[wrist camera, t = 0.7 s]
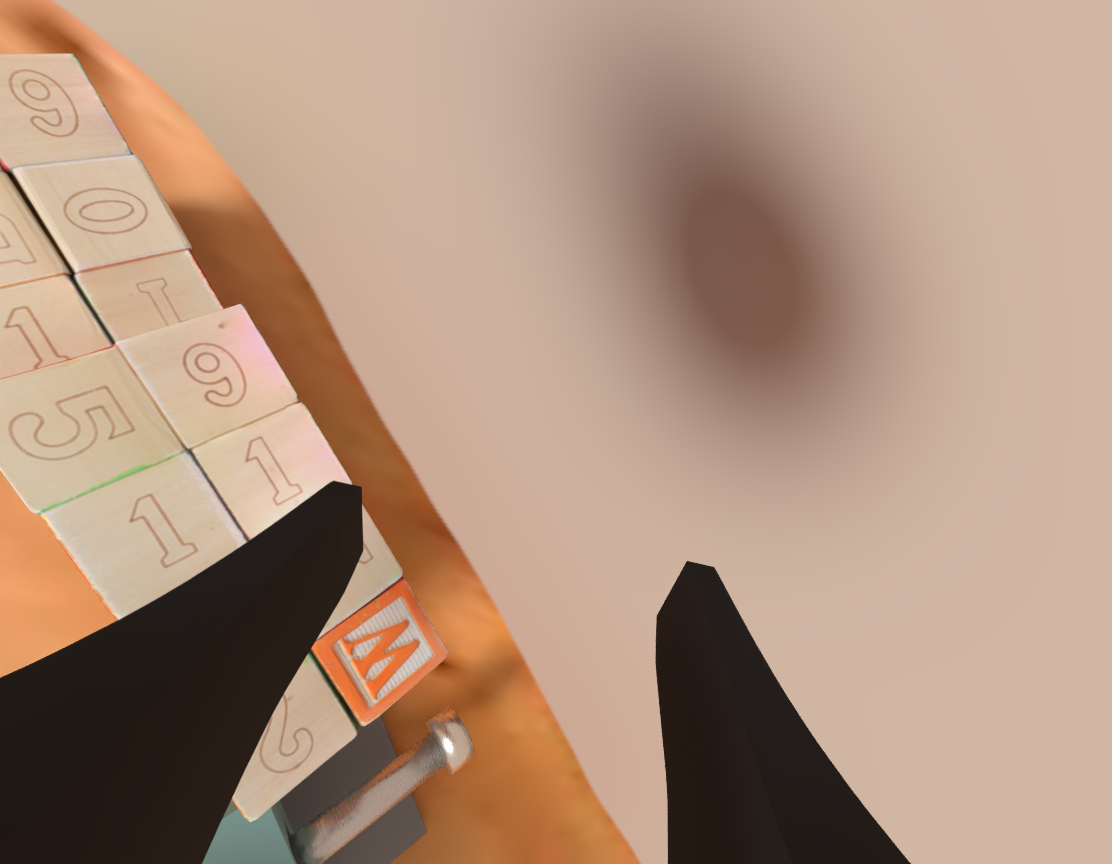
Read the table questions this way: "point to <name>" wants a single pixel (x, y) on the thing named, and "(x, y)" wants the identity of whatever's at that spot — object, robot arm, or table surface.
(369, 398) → the table surface
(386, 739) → the bearing block
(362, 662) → the stack of blocks
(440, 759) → the shaft
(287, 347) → the table surface
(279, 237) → the table surface
